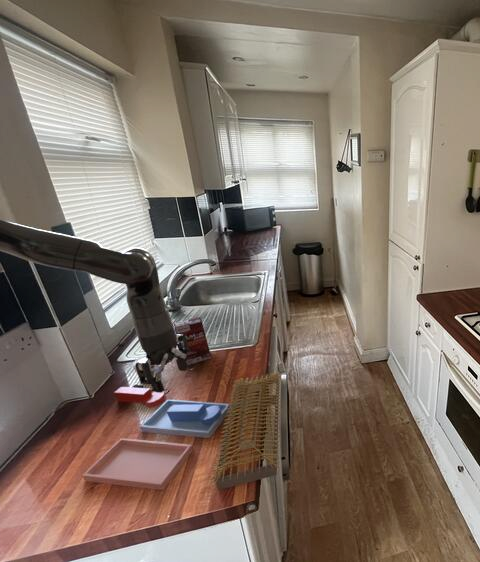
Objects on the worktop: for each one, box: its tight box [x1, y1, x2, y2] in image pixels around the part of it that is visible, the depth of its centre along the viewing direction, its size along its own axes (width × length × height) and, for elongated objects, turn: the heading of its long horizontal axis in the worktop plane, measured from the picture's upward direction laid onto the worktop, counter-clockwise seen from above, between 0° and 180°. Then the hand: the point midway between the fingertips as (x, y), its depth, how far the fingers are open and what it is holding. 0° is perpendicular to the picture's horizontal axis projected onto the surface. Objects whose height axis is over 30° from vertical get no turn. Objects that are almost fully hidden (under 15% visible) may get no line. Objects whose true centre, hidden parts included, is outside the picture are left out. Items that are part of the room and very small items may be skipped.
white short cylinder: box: [131, 355, 159, 376], centre depth 104 cm, size 7×7×7 cm
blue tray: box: [139, 398, 231, 439], centre depth 87 cm, size 20×10×2 cm, turn 83°
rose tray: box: [81, 437, 194, 491], centre depth 74 cm, size 20×10×2 cm, turn 83°
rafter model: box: [209, 370, 281, 491], centre depth 84 cm, size 35×14×6 cm, turn 15°
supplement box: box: [173, 316, 212, 367], centre depth 111 cm, size 9×5×16 cm, turn 123°
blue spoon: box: [166, 404, 221, 425], centre depth 86 cm, size 15×5×4 cm, turn 83°
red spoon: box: [113, 386, 167, 408], centre depth 95 cm, size 15×5×4 cm, turn 83°
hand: (172, 380), depth 82 cm, fingers open, 8 cm apart
